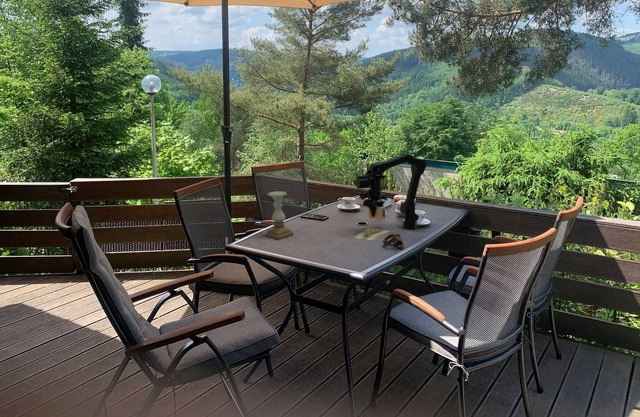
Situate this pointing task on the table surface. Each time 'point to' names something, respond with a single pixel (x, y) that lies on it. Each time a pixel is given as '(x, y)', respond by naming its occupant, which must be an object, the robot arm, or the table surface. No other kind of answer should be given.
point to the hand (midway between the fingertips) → (375, 215)
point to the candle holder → (278, 218)
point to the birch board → (372, 234)
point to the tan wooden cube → (377, 214)
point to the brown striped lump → (393, 240)
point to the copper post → (367, 232)
